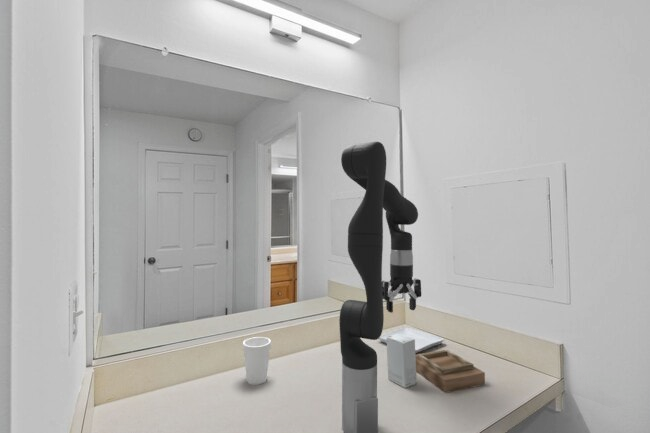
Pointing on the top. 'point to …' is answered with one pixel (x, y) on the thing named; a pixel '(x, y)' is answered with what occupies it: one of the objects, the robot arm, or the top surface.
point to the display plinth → (448, 371)
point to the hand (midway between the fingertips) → (401, 310)
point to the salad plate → (420, 337)
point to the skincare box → (401, 360)
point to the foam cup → (256, 358)
